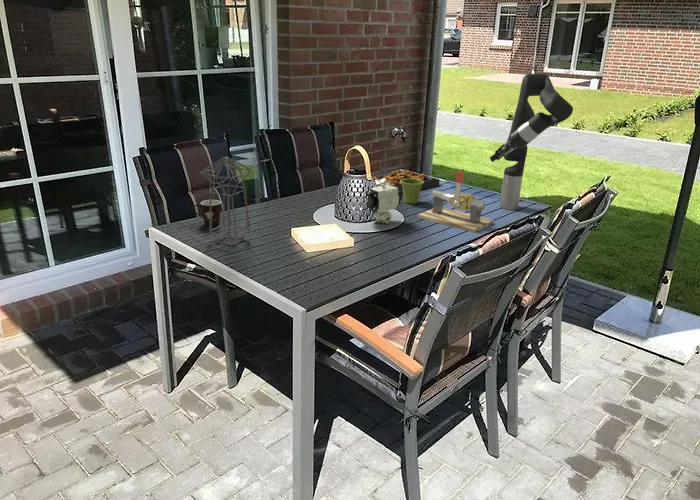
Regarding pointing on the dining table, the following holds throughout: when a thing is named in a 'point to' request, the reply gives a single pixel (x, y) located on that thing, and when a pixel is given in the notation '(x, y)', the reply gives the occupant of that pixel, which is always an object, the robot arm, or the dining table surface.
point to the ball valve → (384, 201)
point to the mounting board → (455, 219)
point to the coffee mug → (206, 212)
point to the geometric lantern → (227, 195)
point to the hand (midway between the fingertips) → (493, 159)
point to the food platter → (399, 175)
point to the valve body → (465, 203)
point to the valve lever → (458, 188)
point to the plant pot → (411, 190)
